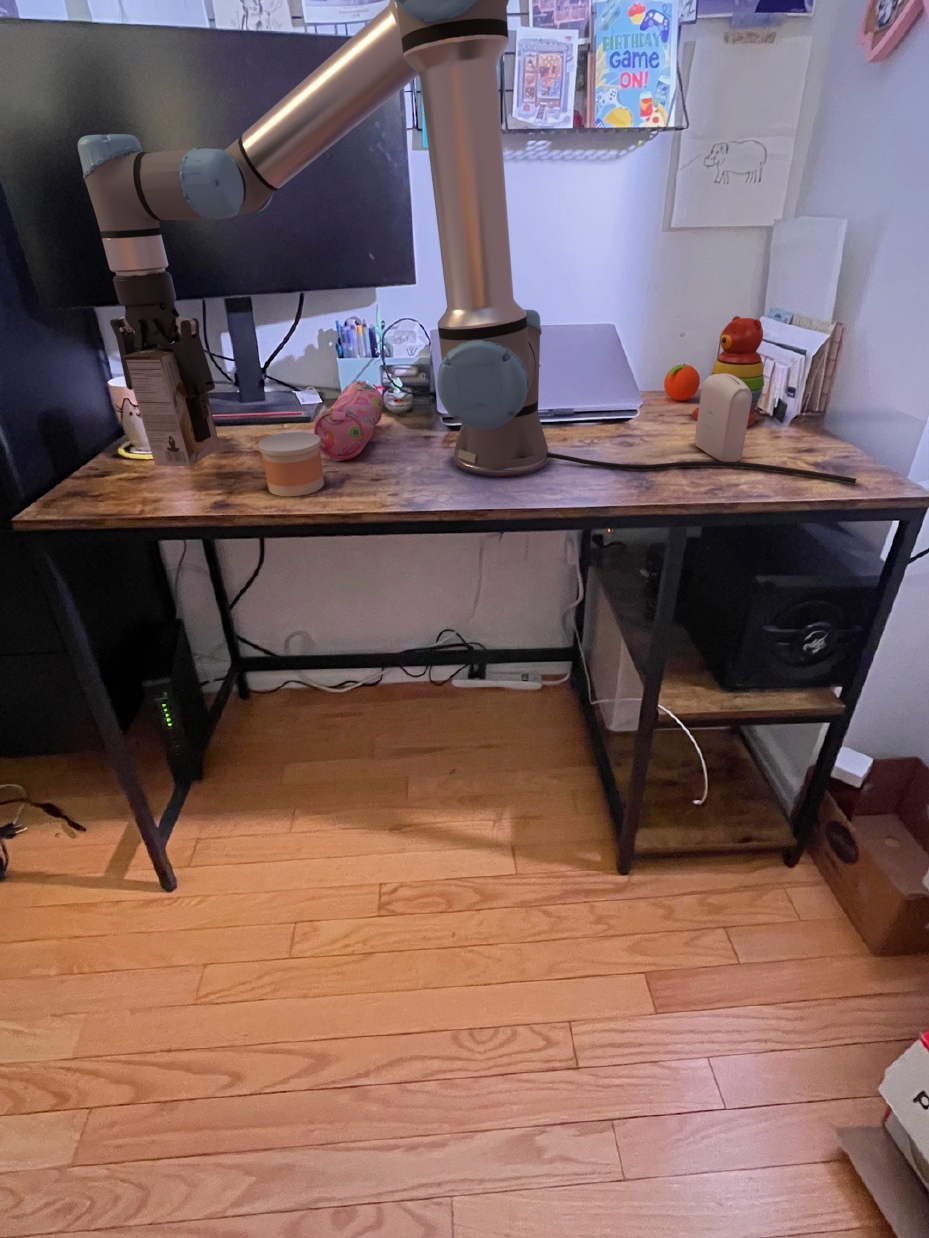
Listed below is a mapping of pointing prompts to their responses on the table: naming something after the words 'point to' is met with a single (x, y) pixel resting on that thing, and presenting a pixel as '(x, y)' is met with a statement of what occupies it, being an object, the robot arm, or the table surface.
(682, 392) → the clementine
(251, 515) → the table surface
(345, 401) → the pencil case
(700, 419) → the photo printer
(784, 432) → the table surface
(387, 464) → the table surface
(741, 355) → the stacking bear
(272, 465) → the yogurt pot
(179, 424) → the coffee box
